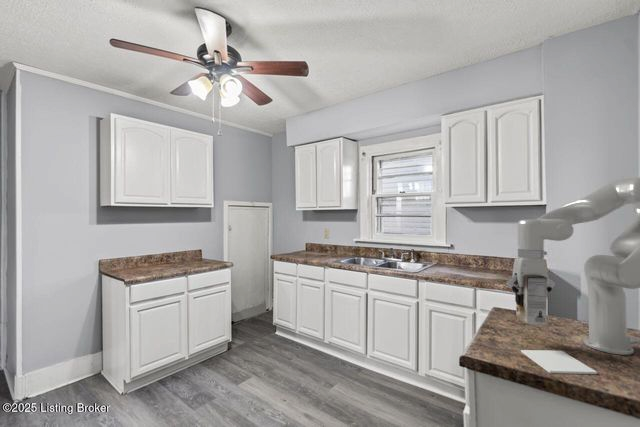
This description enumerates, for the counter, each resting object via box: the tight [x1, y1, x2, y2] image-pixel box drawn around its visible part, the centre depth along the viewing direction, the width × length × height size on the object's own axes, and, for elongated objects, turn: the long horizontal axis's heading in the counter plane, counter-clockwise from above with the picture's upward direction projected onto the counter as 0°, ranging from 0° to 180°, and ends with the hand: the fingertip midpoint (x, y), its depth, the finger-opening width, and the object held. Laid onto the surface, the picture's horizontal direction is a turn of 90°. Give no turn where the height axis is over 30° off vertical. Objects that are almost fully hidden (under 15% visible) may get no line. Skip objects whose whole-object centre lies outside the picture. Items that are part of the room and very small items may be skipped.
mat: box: [520, 349, 598, 375], centre depth 95 cm, size 13×14×1 cm
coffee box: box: [515, 276, 548, 325], centre depth 107 cm, size 9×6×16 cm
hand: (530, 305), depth 107 cm, fingers closed on coffee box, 6 cm apart
